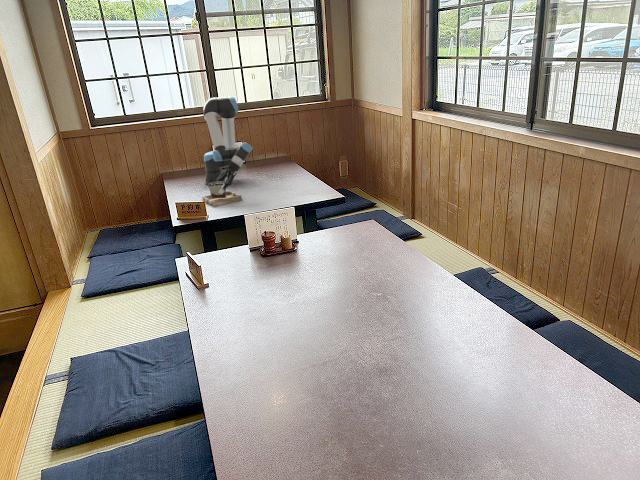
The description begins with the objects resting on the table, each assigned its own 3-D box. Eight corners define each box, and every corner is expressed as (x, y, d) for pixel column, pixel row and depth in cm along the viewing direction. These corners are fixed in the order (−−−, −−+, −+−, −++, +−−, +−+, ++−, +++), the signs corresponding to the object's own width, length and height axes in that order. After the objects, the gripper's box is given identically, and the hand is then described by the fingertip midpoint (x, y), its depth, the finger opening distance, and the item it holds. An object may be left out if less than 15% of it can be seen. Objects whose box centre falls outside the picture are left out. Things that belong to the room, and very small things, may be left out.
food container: (230, 195, 319) (228, 180, 316) (228, 197, 314) (226, 183, 310) (212, 195, 320) (210, 181, 317) (209, 198, 315) (207, 183, 311)
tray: (202, 201, 319) (202, 196, 318) (230, 194, 329) (229, 190, 328) (213, 206, 305) (212, 202, 304) (242, 200, 315) (241, 195, 314)
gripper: (247, 169, 309) (228, 198, 307) (232, 164, 327) (214, 191, 324) (238, 162, 305) (219, 192, 302) (224, 158, 322) (205, 185, 320)
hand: (216, 191), depth 313 cm, fingers closed on food container, 10 cm apart
